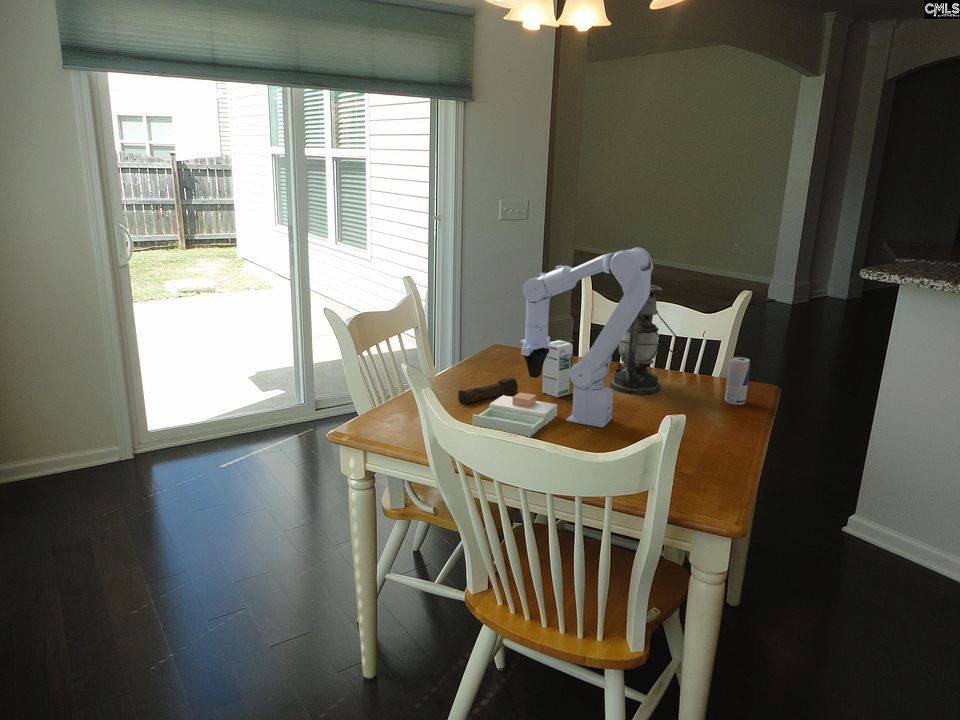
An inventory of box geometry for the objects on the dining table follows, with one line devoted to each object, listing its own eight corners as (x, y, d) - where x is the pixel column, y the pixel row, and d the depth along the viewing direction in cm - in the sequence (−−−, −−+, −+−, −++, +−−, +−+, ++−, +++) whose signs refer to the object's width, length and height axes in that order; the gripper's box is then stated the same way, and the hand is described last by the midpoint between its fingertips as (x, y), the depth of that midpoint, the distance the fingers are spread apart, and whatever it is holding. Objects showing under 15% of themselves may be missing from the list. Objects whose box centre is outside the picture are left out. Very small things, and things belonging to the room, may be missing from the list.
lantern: (619, 375, 213) (626, 276, 205) (683, 384, 205) (693, 282, 197) (601, 392, 196) (608, 285, 188) (670, 402, 188) (680, 292, 180)
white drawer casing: (556, 415, 177) (557, 404, 176) (545, 425, 170) (545, 413, 169) (502, 406, 183) (502, 395, 182) (489, 415, 176) (489, 403, 176)
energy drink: (748, 402, 190) (754, 359, 187) (740, 406, 186) (745, 363, 183) (729, 397, 193) (734, 355, 190) (721, 402, 190) (726, 359, 186)
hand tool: (465, 407, 183) (465, 390, 182) (457, 402, 186) (457, 386, 185) (523, 395, 193) (523, 379, 192) (514, 391, 196) (515, 375, 195)
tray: (544, 425, 170) (545, 414, 169) (530, 438, 162) (530, 425, 161) (488, 415, 176) (489, 404, 175) (472, 426, 168) (472, 415, 168)
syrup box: (557, 398, 190) (559, 346, 187) (541, 392, 195) (543, 342, 191) (571, 394, 194) (573, 343, 190) (555, 389, 198) (557, 339, 194)
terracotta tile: (535, 402, 177) (536, 395, 177) (529, 407, 173) (529, 399, 173) (519, 399, 179) (519, 392, 179) (512, 404, 175) (512, 397, 175)
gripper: (533, 318, 185) (531, 367, 188) (510, 328, 172) (509, 381, 176) (558, 320, 182) (555, 371, 185) (537, 331, 169) (535, 385, 173)
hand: (534, 376), depth 180 cm, fingers closed
